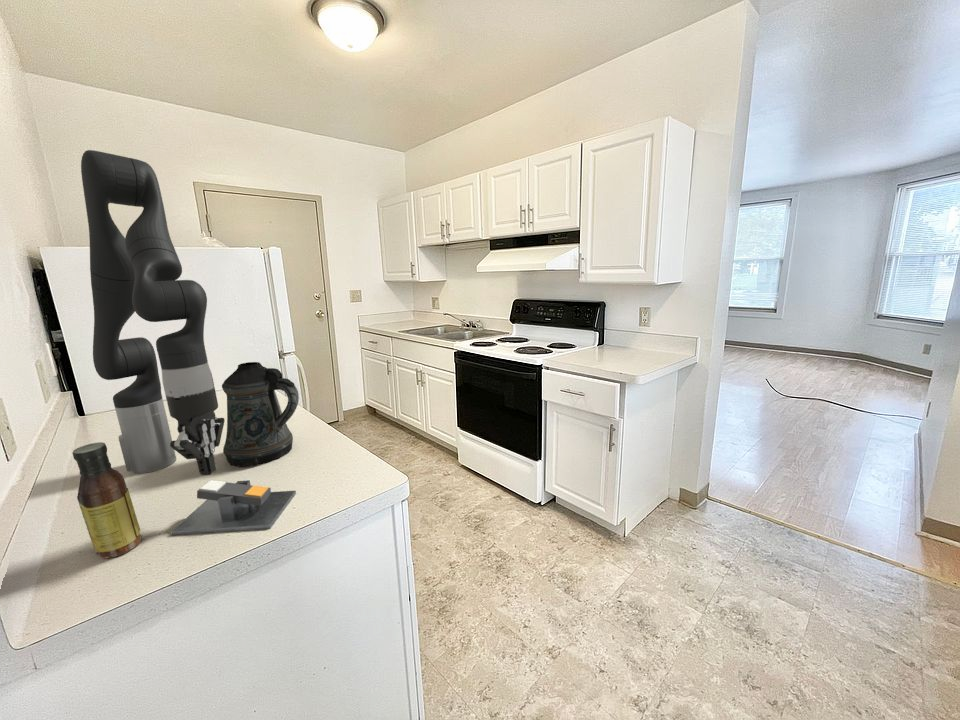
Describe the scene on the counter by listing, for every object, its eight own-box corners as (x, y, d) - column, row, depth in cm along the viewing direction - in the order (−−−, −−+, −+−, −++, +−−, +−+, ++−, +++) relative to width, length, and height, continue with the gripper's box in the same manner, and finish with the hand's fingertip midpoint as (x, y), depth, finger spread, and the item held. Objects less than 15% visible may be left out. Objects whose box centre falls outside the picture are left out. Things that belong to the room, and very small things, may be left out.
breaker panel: (172, 535, 73) (166, 510, 72) (211, 499, 85) (207, 477, 84) (270, 528, 74) (265, 503, 73) (296, 493, 86) (292, 472, 85)
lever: (197, 498, 76) (197, 489, 76) (209, 487, 80) (210, 478, 80) (260, 505, 77) (261, 497, 77) (270, 494, 81) (270, 486, 81)
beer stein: (228, 449, 111) (211, 362, 105) (303, 434, 119) (291, 353, 114) (222, 474, 96) (202, 375, 91) (307, 455, 105) (294, 363, 99)
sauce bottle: (116, 538, 73) (88, 439, 69) (151, 535, 74) (126, 436, 69) (84, 563, 67) (52, 455, 63) (123, 560, 67) (94, 452, 63)
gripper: (193, 380, 80) (209, 459, 84) (141, 401, 67) (164, 492, 71) (230, 378, 80) (245, 456, 84) (187, 398, 68) (207, 489, 71)
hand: (208, 473), depth 78 cm, fingers closed
